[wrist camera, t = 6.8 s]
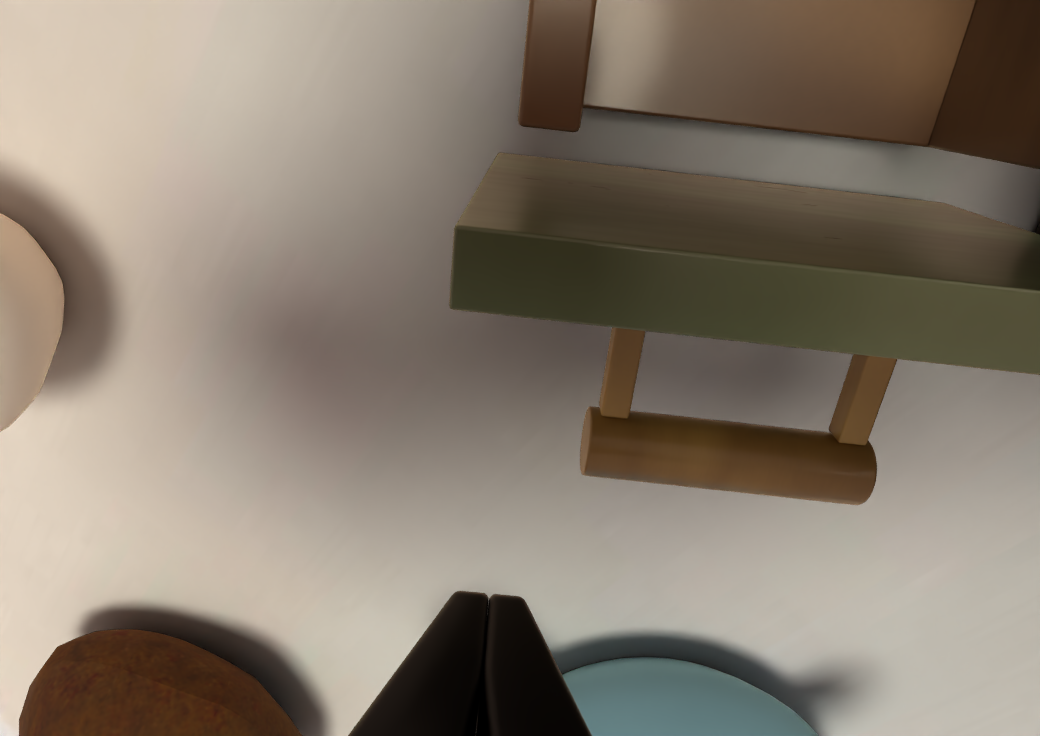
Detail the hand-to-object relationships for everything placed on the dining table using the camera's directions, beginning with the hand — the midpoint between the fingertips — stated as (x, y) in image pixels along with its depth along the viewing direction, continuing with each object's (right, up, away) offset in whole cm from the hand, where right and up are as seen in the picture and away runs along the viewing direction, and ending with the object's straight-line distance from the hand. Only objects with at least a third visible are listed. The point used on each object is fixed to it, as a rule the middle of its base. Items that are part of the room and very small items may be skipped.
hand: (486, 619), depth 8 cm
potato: (-12, -9, +18) cm, 23 cm away
